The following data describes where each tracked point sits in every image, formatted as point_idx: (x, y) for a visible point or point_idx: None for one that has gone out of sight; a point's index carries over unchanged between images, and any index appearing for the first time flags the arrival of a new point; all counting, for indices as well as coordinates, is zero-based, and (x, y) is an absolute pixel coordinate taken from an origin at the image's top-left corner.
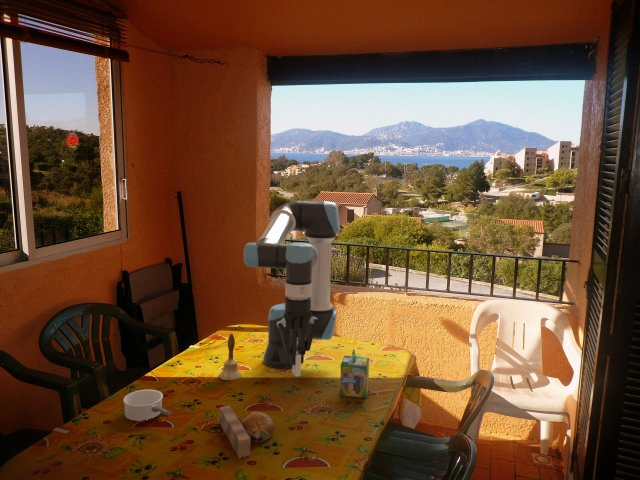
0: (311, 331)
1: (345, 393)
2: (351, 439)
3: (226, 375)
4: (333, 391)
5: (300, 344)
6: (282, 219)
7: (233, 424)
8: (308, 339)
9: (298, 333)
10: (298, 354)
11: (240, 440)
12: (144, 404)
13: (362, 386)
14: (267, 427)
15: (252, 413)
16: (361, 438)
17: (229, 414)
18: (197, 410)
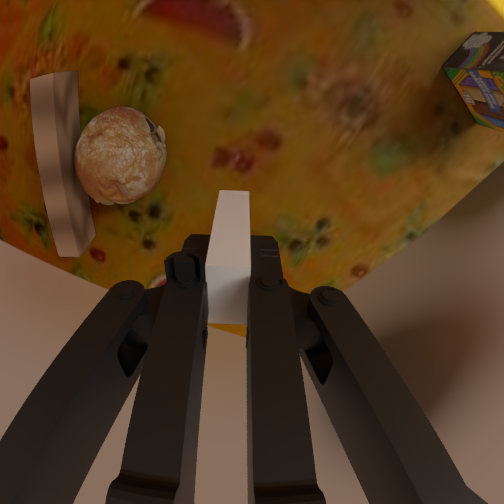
0: (367, 485)
1: (455, 80)
2: (329, 261)
3: None
4: (439, 35)
5: (247, 382)
6: None
7: (47, 184)
8: (330, 417)
9: (251, 448)
10: (230, 316)
11: (61, 256)
12: None
13: (493, 123)
14: (131, 199)
15: (93, 153)
16: (349, 265)
17: (43, 127)
18: (32, 4)
